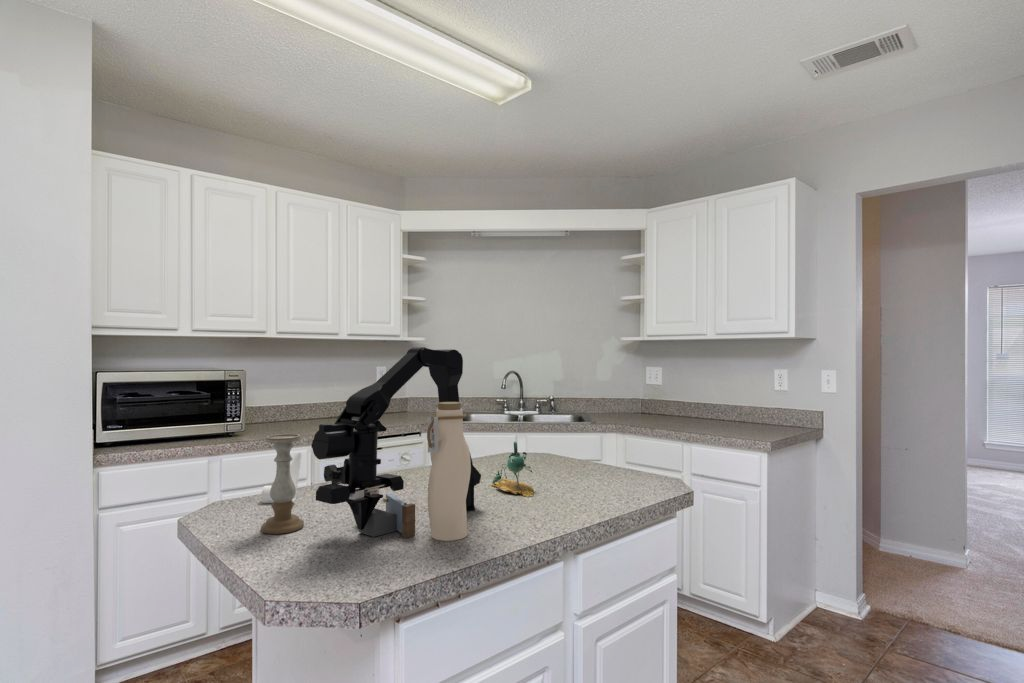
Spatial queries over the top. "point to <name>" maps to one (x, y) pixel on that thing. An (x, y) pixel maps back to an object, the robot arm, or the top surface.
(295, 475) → the plastic part
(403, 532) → the frame
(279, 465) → the candle holder
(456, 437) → the water bottle
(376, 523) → the dark grey stepped block
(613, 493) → the top surface
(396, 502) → the door
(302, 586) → the top surface
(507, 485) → the frog figurine
